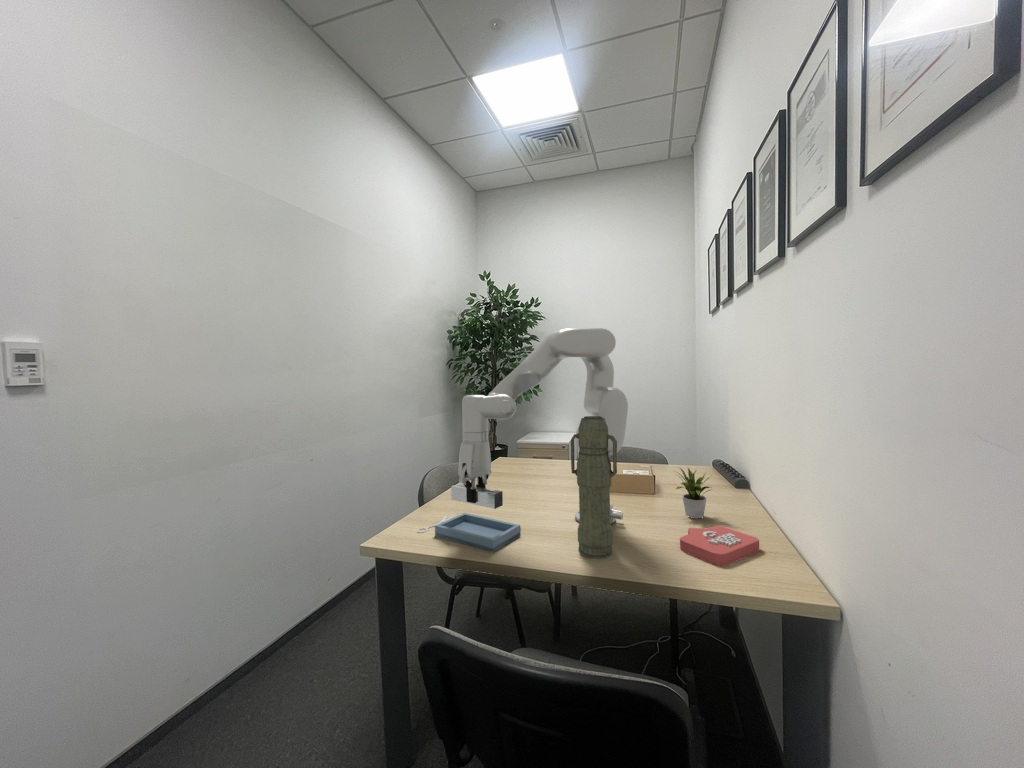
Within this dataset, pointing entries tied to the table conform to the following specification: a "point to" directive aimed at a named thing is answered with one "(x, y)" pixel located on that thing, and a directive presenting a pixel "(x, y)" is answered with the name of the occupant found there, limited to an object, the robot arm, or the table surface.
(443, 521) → the scissors
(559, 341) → the robot arm
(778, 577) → the table surface
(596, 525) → the thermos
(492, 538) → the tray
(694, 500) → the house plant
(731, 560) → the plaque
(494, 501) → the two-tone rectangular block
